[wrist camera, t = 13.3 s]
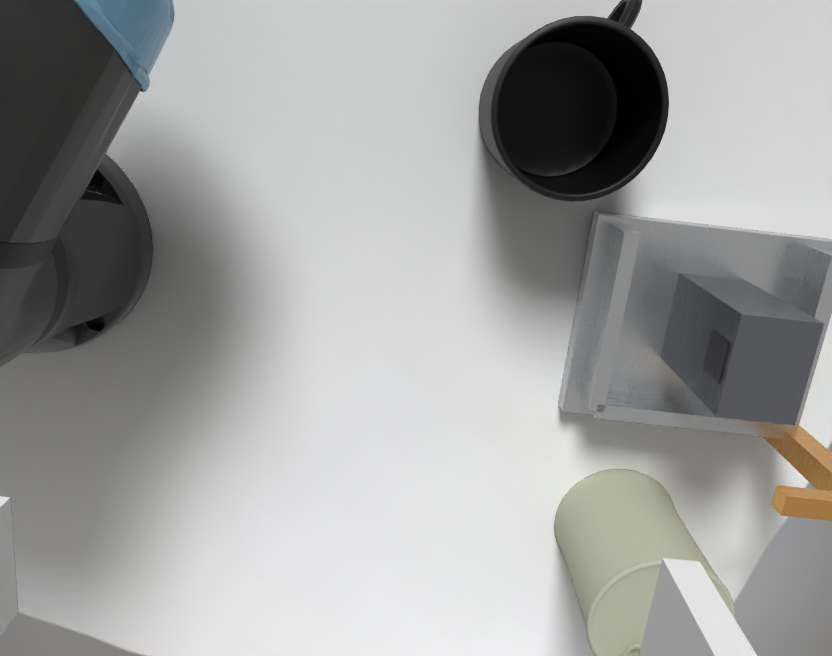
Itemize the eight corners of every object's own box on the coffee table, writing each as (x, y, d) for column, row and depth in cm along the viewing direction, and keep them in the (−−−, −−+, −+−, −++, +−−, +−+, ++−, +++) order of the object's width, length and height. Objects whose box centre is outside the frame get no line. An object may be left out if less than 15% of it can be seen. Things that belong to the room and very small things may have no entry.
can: (530, 537, 56) (557, 648, 45) (602, 447, 54) (650, 539, 43) (625, 592, 58) (675, 714, 46) (699, 506, 55) (771, 611, 44)
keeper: (558, 403, 53) (601, 499, 40) (593, 211, 49) (654, 250, 36) (774, 426, 53) (886, 529, 40) (827, 238, 49) (970, 286, 36)
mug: (677, 45, 46) (736, 31, 37) (571, 210, 49) (603, 233, 40) (552, -38, 44) (583, -72, 36) (451, 137, 48) (457, 145, 39)
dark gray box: (658, 356, 50) (714, 416, 41) (677, 272, 48) (740, 313, 39) (725, 364, 50) (796, 425, 41) (747, 280, 49) (826, 323, 39)
